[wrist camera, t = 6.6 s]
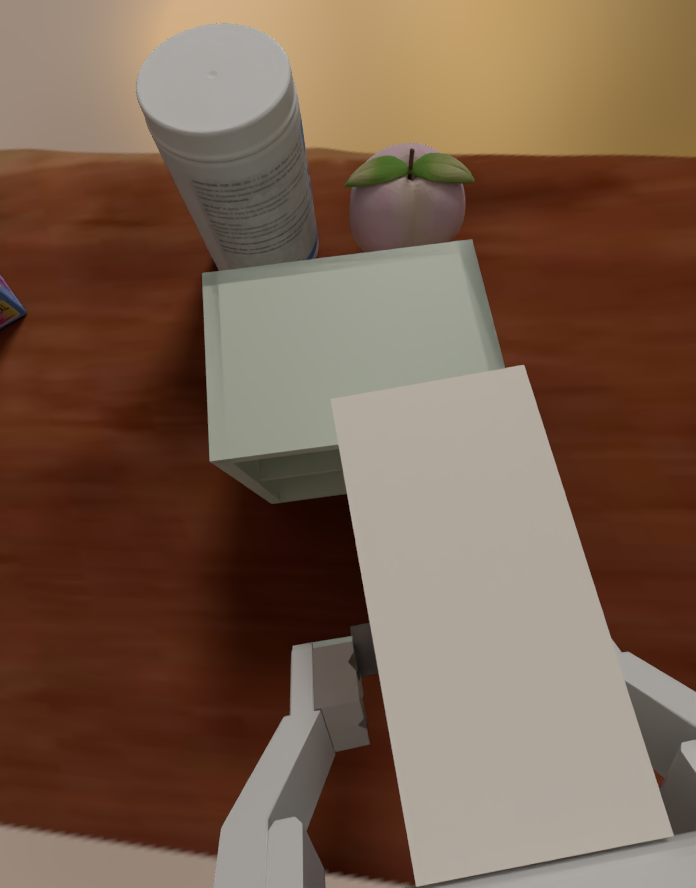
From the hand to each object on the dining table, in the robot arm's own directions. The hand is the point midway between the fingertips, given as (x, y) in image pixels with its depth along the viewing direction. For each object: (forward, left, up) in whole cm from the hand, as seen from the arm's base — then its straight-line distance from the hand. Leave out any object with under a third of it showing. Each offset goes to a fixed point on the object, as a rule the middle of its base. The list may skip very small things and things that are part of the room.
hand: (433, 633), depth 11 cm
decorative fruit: (-23, -18, -21) cm, 36 cm away
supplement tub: (-15, -27, -21) cm, 37 cm away
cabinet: (-5, -6, -21) cm, 22 cm away
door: (-1, -1, -6) cm, 7 cm away
